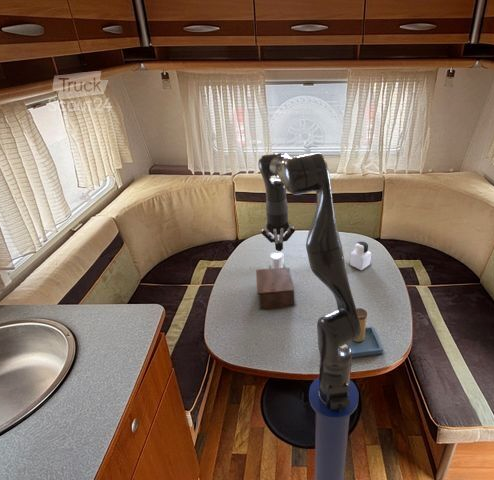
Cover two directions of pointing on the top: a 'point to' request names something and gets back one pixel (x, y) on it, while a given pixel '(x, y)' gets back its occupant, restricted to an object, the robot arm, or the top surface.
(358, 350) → the tray
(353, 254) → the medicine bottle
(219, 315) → the top surface
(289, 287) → the chest lid
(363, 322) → the cookie roll
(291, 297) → the chest
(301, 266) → the top surface
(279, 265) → the white cylinder
